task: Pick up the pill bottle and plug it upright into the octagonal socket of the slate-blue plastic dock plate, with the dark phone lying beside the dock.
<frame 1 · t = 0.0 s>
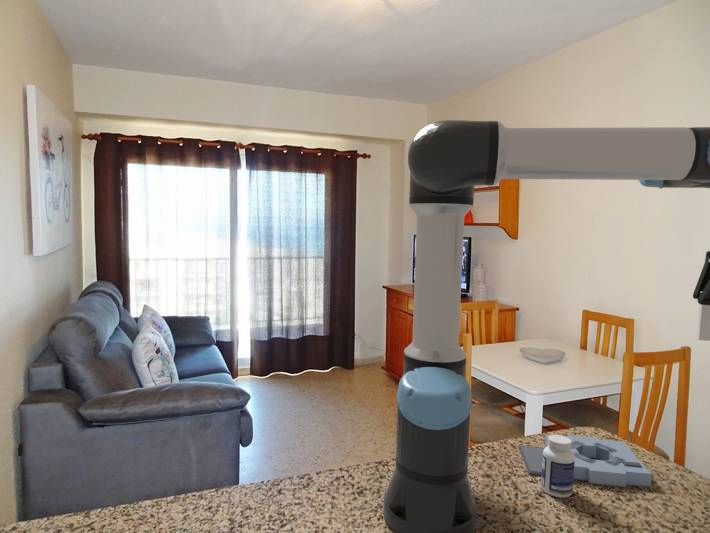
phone: (538, 464, 101), on the kitchen counter
pill bottle: (556, 491, 90), on the kitchen counter
dock: (593, 464, 100), on the kitchen counter
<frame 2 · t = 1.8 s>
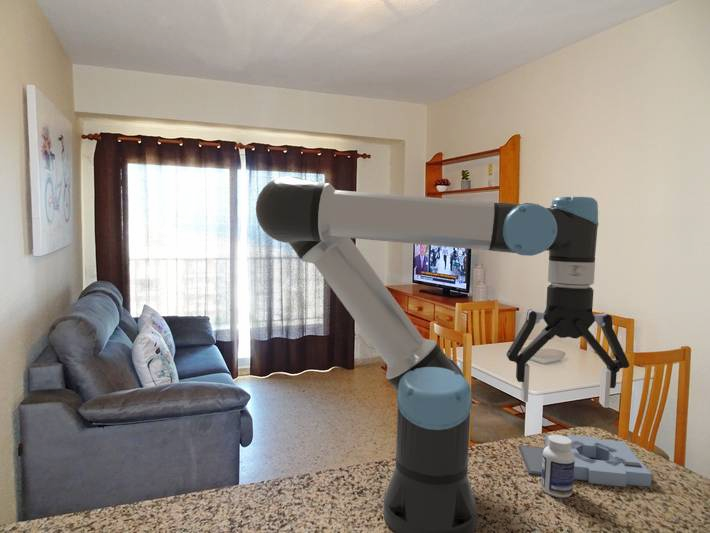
hand: (563, 402, 88), 17 cm above the kitchen counter, fingers open, 13 cm apart
nothing on the kitchen counter moved.
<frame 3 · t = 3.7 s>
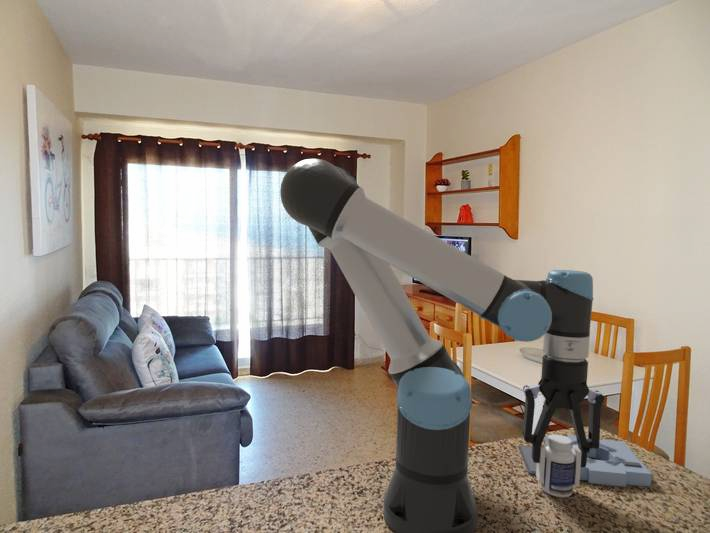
hand: (557, 480, 89), 2 cm above the kitchen counter, fingers closed on pill bottle, 5 cm apart
pill bottle: (556, 491, 90), on the kitchen counter, touching gripper
everything else where it was.
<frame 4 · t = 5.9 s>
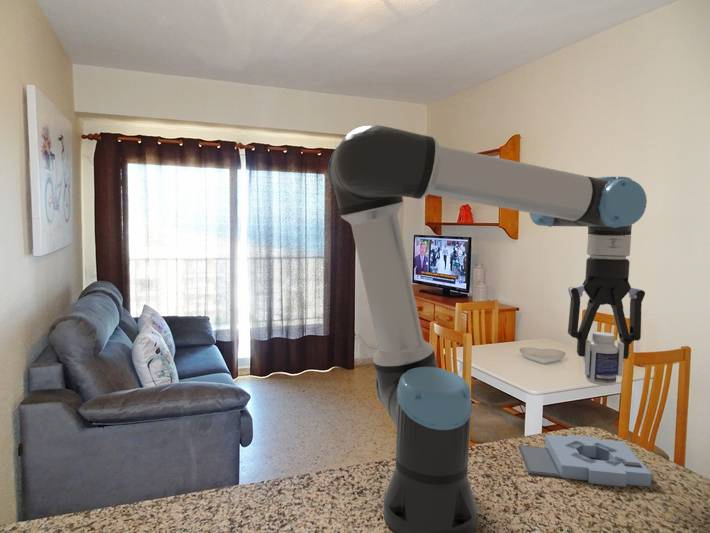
hand: (601, 372, 98), 19 cm above the kitchen counter, fingers closed on pill bottle, 5 cm apart
pill bottle: (600, 382, 98), point 17 cm above the kitchen counter, touching gripper
everything else where it was.
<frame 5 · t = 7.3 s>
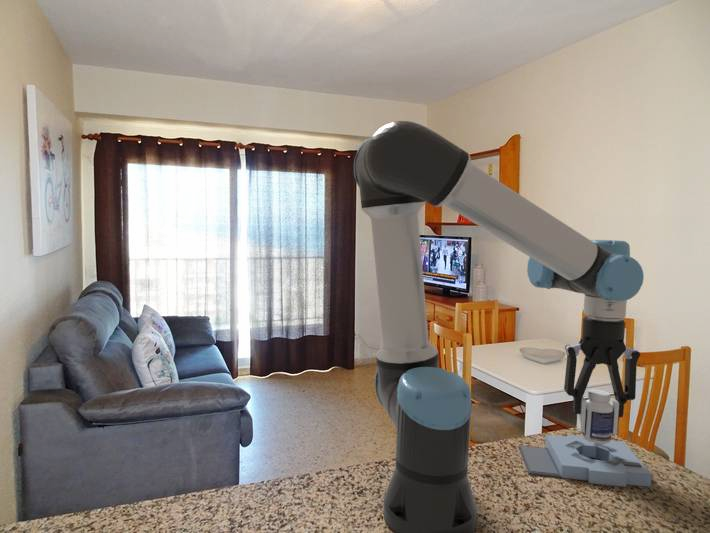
hand: (596, 430, 99), 7 cm above the kitchen counter, fingers closed on pill bottle, 5 cm apart
pill bottle: (595, 439, 99), point 5 cm above the kitchen counter, touching gripper
everything else where it was.
when the fingers open (3 cm above the kitchen counter, at t = 8.5 s): pill bottle drops 1 cm, resting in dock.
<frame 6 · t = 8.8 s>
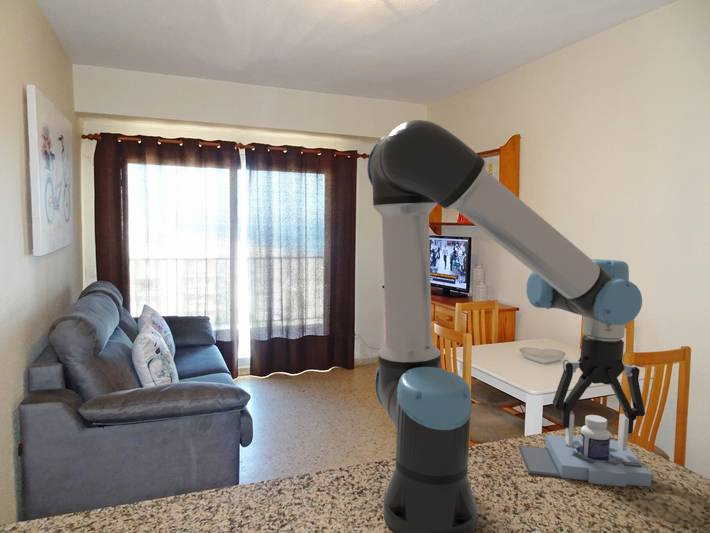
hand: (595, 445, 99), 4 cm above the kitchen counter, fingers open, 9 cm apart
pill bottle: (593, 465, 100), resting in dock
everything else where it was.
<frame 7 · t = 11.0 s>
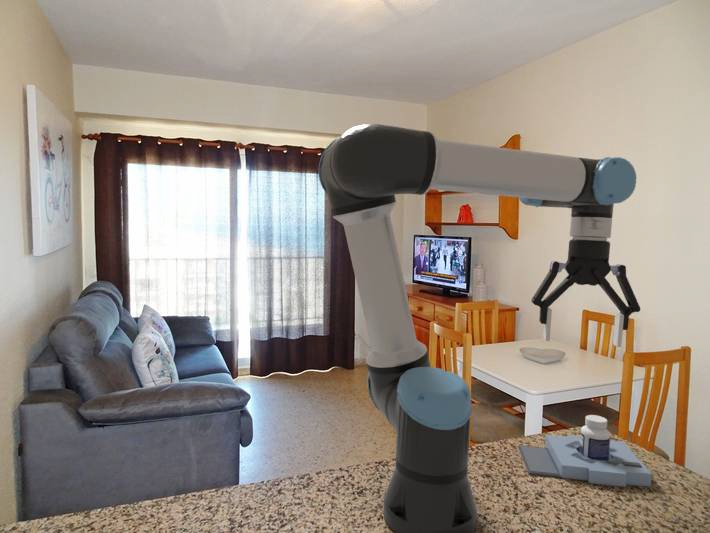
hand: (581, 342, 100), 25 cm above the kitchen counter, fingers open, 13 cm apart
nothing on the kitchen counter moved.
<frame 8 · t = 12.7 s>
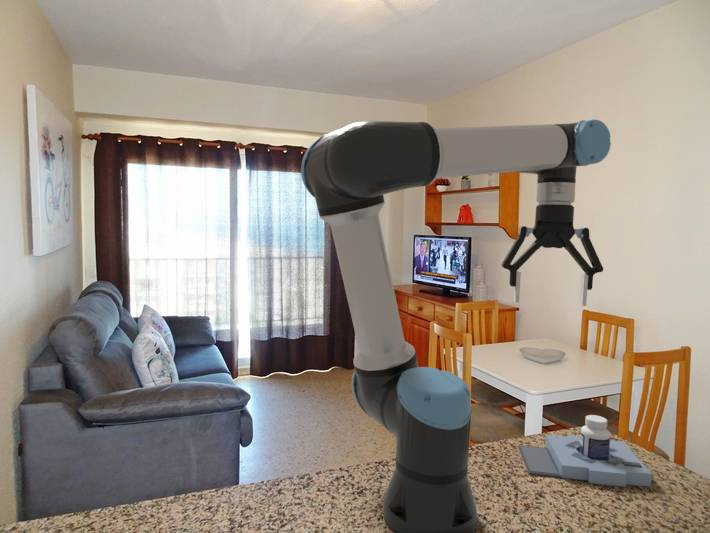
hand: (548, 303, 105), 32 cm above the kitchen counter, fingers open, 13 cm apart
nothing on the kitchen counter moved.
at the end: pill bottle 0.1 cm from the dock (horizontally); pill bottle resting in dock; pill bottle tilted 0° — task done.
